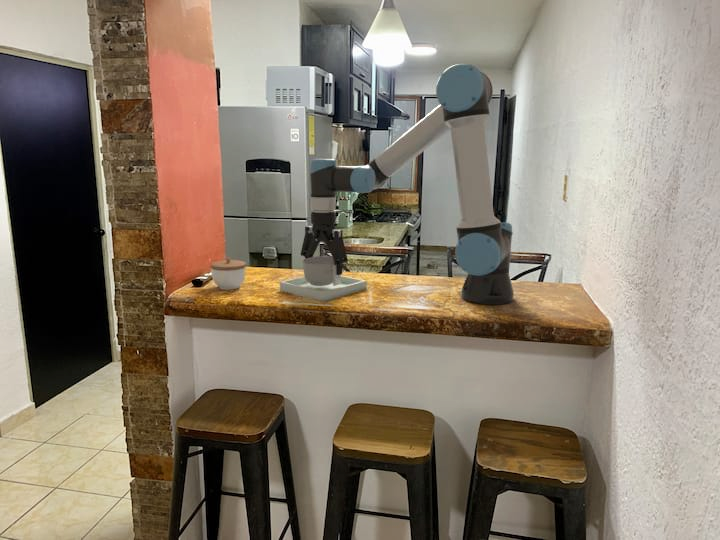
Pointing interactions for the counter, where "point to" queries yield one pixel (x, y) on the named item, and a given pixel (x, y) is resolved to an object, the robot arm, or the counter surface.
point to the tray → (323, 288)
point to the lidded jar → (228, 273)
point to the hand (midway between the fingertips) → (323, 281)
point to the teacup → (319, 270)
